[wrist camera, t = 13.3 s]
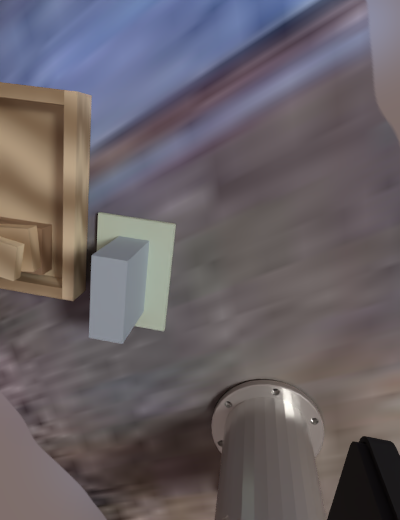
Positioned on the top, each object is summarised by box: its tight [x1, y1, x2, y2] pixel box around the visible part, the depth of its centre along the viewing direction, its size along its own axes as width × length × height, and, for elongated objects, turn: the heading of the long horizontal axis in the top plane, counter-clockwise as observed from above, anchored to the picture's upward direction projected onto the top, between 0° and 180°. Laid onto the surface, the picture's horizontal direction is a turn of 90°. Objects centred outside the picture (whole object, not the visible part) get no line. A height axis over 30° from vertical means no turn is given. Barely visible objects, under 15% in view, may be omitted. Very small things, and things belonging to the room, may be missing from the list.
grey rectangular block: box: [89, 236, 149, 344], centre depth 37 cm, size 8×3×7 cm, turn 173°
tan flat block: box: [0, 217, 52, 275], centre depth 40 cm, size 5×8×2 cm, turn 83°
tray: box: [0, 82, 91, 301], centre depth 38 cm, size 20×15×3 cm
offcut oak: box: [0, 224, 41, 272], centre depth 38 cm, size 4×7×2 cm, turn 89°
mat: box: [97, 212, 176, 331], centre depth 40 cm, size 12×8×1 cm, turn 173°
